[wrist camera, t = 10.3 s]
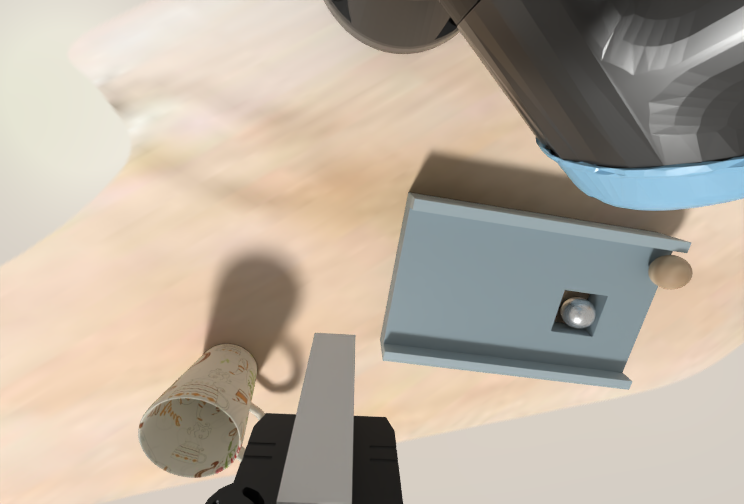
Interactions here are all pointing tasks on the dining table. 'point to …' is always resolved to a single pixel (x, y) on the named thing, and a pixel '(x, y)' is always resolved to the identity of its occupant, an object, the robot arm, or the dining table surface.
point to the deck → (517, 291)
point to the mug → (202, 415)
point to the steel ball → (578, 312)
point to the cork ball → (670, 272)
